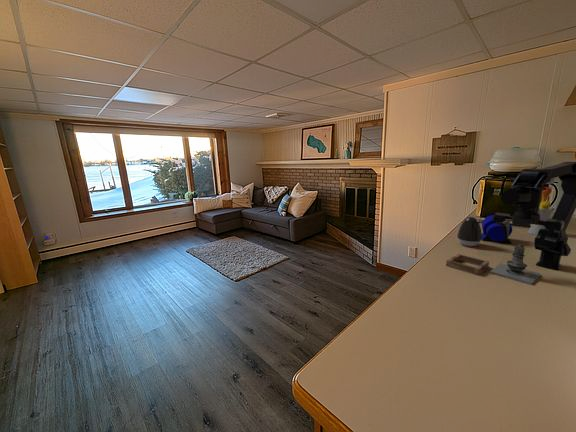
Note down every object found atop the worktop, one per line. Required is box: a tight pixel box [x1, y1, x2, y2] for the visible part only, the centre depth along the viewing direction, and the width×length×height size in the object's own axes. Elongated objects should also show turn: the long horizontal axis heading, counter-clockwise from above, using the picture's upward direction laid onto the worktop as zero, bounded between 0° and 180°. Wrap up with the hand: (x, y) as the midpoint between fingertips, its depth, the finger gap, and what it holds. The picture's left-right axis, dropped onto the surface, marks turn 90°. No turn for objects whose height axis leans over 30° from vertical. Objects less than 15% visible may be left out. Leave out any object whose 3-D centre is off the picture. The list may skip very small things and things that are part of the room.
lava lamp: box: [527, 178, 556, 236], centre depth 134 cm, size 9×9×35 cm
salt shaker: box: [506, 243, 528, 275], centre depth 93 cm, size 6×6×12 cm
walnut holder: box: [445, 253, 490, 276], centre depth 102 cm, size 11×11×2 cm
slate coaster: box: [489, 262, 541, 286], centre depth 94 cm, size 12×12×1 cm
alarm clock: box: [481, 211, 513, 245], centre depth 129 cm, size 12×12×15 cm
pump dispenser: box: [456, 216, 484, 247], centre depth 124 cm, size 10×10×15 cm
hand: (522, 242), depth 92 cm, fingers open, 9 cm apart
